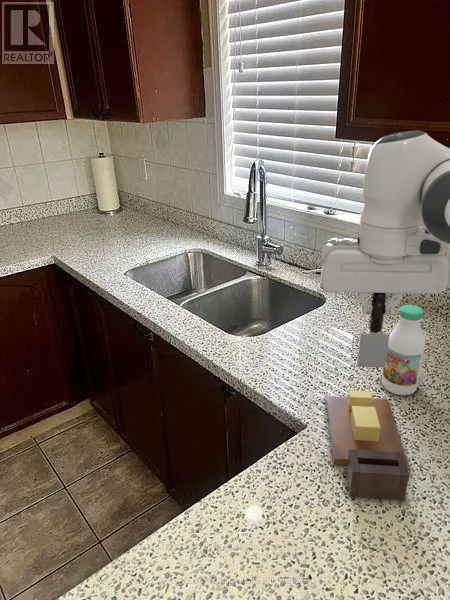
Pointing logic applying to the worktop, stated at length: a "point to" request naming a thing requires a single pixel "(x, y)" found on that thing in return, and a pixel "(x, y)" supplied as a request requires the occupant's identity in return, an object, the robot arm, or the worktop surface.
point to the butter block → (365, 423)
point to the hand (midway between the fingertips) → (377, 313)
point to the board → (344, 434)
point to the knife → (374, 337)
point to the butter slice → (359, 399)
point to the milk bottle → (405, 353)
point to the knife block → (377, 474)
